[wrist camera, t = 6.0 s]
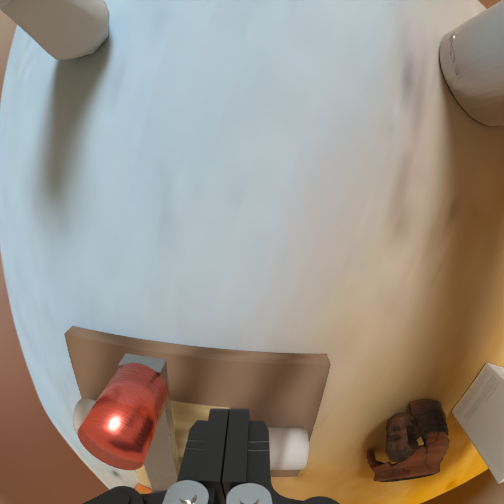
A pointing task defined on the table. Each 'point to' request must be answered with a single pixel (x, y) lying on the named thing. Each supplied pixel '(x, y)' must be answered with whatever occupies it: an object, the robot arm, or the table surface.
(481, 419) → the supplement box
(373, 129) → the table surface
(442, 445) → the pottery mug
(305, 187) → the table surface
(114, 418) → the valve lever
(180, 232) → the table surface
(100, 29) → the salt shaker
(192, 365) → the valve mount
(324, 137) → the table surface
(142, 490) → the supplement box
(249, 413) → the robot arm
